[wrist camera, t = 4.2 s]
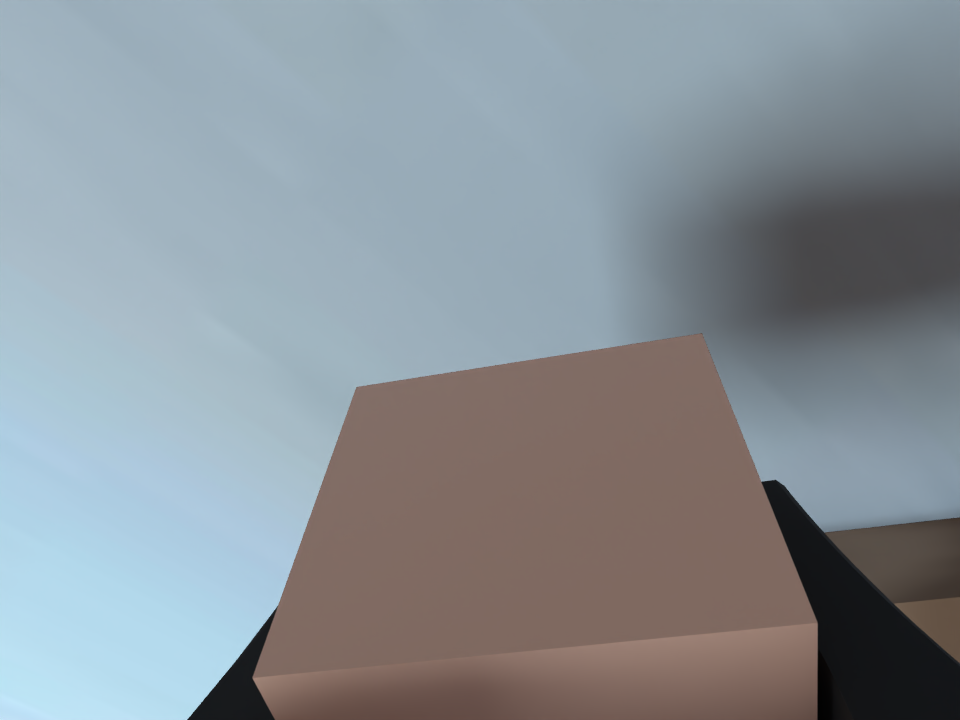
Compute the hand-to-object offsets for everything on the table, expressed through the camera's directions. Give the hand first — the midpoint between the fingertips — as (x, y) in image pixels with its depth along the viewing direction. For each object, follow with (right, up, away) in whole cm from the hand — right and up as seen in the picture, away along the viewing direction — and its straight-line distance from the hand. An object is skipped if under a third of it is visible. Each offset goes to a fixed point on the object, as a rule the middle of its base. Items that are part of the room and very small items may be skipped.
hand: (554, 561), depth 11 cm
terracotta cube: (0, +1, +1) cm, 1 cm away
